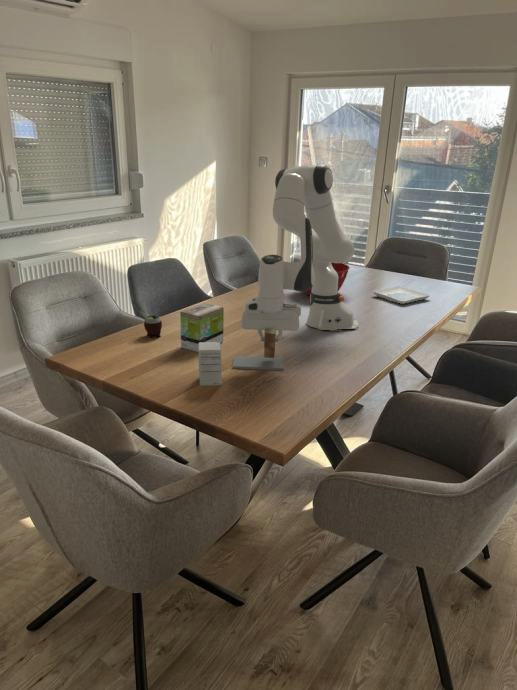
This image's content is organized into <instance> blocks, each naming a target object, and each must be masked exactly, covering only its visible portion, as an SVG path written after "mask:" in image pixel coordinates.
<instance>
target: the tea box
mask: <svg viewBox="0 0 517 690" xmlns="http://www.w3.org/2000/svg"><path fill="white" fill-rule="evenodd" d="M224 311H225V310H224V306H222V305H221V306H219V305H214V304H211V303H205V302H203V303H201V304H197V305H195V306H193V307H190V308H187V309H184V310H180V311H179V313H180V347H181V348H183V349H186V350H188V351H193V352H196V353H198V347H199V342H220V343H223V342H224V314H225V313H224Z"/></svg>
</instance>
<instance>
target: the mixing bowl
mask: <svg viewBox="0 0 517 690" xmlns="http://www.w3.org/2000/svg"><path fill="white" fill-rule="evenodd" d="M300 261H301V260H300ZM300 261H297V262H296V263H298V262H300ZM331 264H332V267H333V268H334V270H335V271H336V272H337V274H338V291H337V292H338V293H339V291H340V290H341V288H342V286H343V284H344V282H345V280H346V279H347V275H348V272H349V270H350V268H351V267H350V265H348V264H347V263H333V262H331ZM311 291H312V288H310V289H309V290H308V291H306V292H304V293H305V294H306V295H307V294H308V295H307V296H309V295H310V293H311Z"/></svg>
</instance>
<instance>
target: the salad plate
mask: <svg viewBox="0 0 517 690" xmlns="http://www.w3.org/2000/svg"><path fill="white" fill-rule="evenodd" d="M371 292H372V293H373V294H374V295H375V296H377V297H379V298H381V297H382V298H381V299H383V298H385V299H384V300H386V299H388V300H387V301H389V300H391V301H390V302H392V301H394V302H393V303H395V302H397V303H396V304H399V303H400V304H399V305H405V303H407V304H410V303H409V302H411V303H414V302H413V301H416V302H419V301H418V300H420V301H423V299H424V300H425V299H428V298H430V296H431V295H430V294H428V293H425V292H422V291H419V290H415V289H412V288H408V287H404V286H400V285H399V286H391V287H386V288H381V289H375V290H372V291H371ZM394 293H407V294H410V295H413V296H415V297H417V298H414V299H410V300H407V301H400V300H397V299H395V298H392V297H389V296H387V294H394Z"/></svg>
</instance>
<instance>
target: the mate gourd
mask: <svg viewBox="0 0 517 690" xmlns="http://www.w3.org/2000/svg"><path fill="white" fill-rule="evenodd" d="M165 301H166V298H165V299H164V298H163V300H162V301H161V302H160V303H159V305H158V309H157V313H156V315H149V316H146V317H145V319H144V323H143V326H144V330H145V331H146V333H147V334H146V336H147V335H149V336H148V339H149V338H151V339H152V337H153V338H162V335H161V334H162V333H161V332H162V327H163V323H162V319H161V317H160V316H158V315H159V312H160V308H161V307H162V304H163V303H164V302H165ZM154 336H155V337H154Z"/></svg>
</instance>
